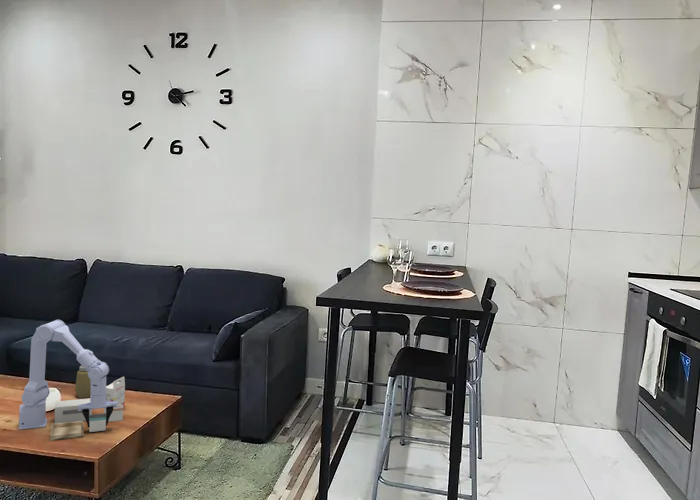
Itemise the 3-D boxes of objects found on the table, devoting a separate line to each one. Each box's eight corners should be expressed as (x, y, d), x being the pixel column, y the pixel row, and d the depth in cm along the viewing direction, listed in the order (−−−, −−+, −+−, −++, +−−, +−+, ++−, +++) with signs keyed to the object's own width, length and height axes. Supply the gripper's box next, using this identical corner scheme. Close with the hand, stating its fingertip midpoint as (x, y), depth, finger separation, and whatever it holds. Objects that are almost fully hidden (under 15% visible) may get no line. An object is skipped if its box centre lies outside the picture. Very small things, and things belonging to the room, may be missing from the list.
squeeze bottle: (97, 395, 264) (98, 358, 262) (81, 400, 257) (82, 362, 255) (87, 391, 268) (87, 355, 266) (71, 396, 261) (71, 358, 259)
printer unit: (54, 424, 231) (54, 407, 230) (55, 417, 238) (55, 401, 237) (91, 420, 237) (92, 404, 236) (91, 413, 244) (92, 397, 243)
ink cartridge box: (114, 406, 253) (115, 374, 252) (124, 407, 252) (125, 375, 251) (103, 413, 245) (103, 380, 244) (113, 414, 244) (113, 382, 243)
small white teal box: (89, 432, 225) (89, 418, 224) (89, 428, 228) (89, 415, 228) (105, 430, 227) (106, 417, 227) (105, 426, 231) (105, 413, 230)
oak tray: (50, 440, 216) (50, 435, 216) (51, 428, 227) (51, 424, 227) (83, 437, 221) (83, 432, 221) (83, 425, 232) (83, 420, 231)
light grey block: (107, 421, 237) (107, 409, 236) (107, 418, 240) (107, 405, 240) (123, 420, 239) (123, 407, 239) (122, 416, 243) (122, 404, 242)
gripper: (117, 388, 233) (116, 419, 234) (78, 391, 227) (77, 423, 228) (118, 394, 227) (117, 426, 228) (78, 397, 220) (77, 430, 222)
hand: (97, 425), depth 228 cm, fingers closed on small white teal box, 6 cm apart
